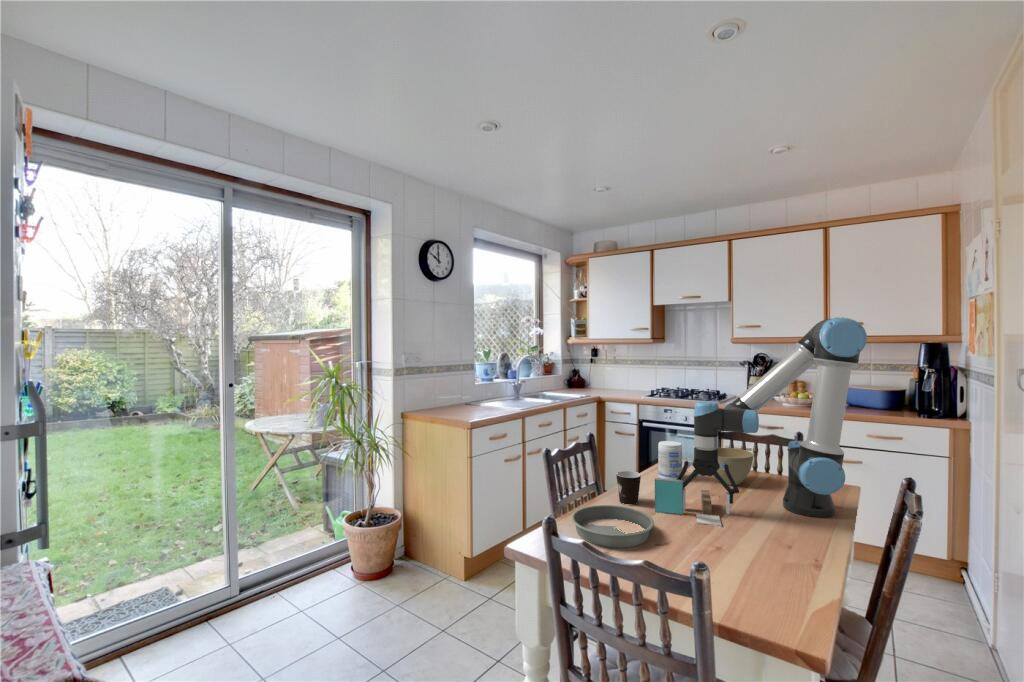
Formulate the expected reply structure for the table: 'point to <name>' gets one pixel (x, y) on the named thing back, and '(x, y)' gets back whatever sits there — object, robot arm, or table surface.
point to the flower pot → (734, 464)
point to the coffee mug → (628, 486)
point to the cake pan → (608, 533)
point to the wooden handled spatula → (707, 511)
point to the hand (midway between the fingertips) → (705, 510)
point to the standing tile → (669, 496)
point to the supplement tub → (669, 459)
